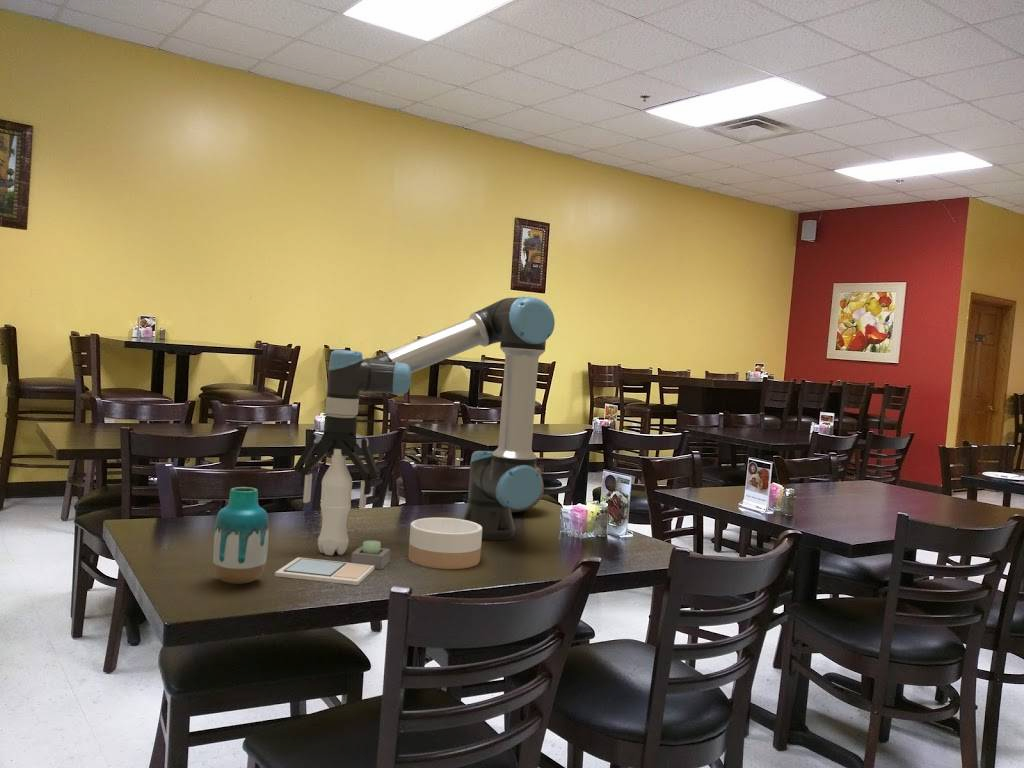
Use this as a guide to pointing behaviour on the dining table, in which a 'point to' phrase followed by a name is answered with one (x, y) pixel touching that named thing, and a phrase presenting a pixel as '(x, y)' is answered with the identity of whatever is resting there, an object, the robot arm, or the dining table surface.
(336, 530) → the water bottle
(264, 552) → the vase
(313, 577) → the cream rectangular board
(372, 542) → the button
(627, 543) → the dining table surface
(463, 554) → the bowl
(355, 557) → the button housing
